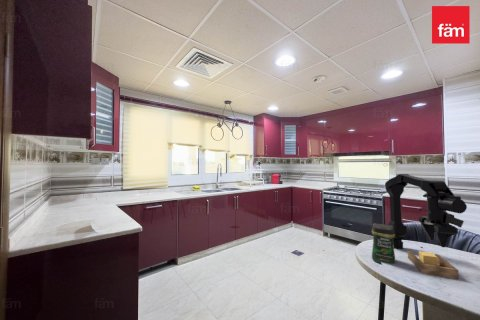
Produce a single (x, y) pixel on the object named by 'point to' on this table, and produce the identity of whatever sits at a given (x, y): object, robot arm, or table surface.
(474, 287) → the table surface
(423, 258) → the ochre cube
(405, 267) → the table surface
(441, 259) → the walnut cubby
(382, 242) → the coffee jar
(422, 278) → the table surface
